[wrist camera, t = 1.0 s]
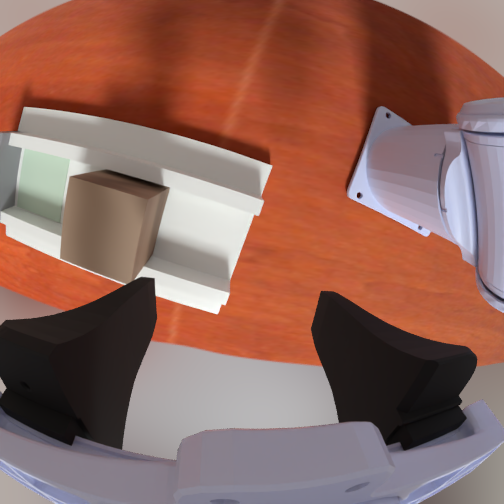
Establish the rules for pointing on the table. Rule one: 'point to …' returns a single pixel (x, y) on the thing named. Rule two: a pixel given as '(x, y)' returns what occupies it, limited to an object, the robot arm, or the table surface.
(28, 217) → the chute
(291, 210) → the table surface
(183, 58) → the table surface
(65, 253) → the block
